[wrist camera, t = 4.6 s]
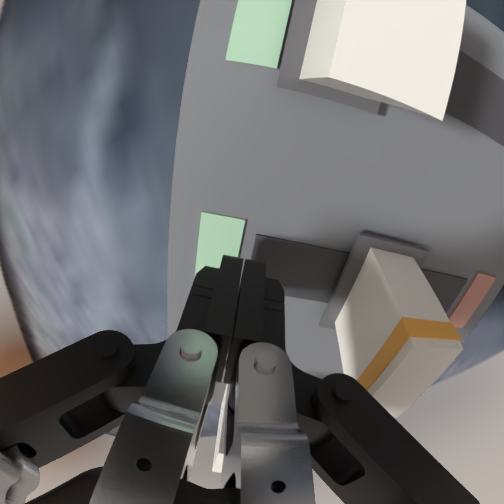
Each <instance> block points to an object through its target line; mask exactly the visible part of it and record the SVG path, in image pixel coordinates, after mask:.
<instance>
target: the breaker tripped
mask: <svg viewBox="0 0 504 504" xmlns="http://www.w3.org/2000/svg"><path fill="white" fill-rule="evenodd" d="M427 254H428V250H427V249H426V248H422V247H418V246H415V245H411V244H407V243H403V242H399V241H395V240H391V239H387V238H383V237H379V236H375V235H371V234H367V233H362V232H358V235H357V237H356V240H355V242H354V245H353V247H352V250H351V252H350V254H349V257H348V259H347V262H346V264H345V266H344V269H343V271H342V273H341V276H340V278H339V280H338V282H337V285H336V287H335V289H334V291H333V294H332V296H331V298H330V300H329V302H328V305H327V307H326V309H325V311H324V313H323V315H322V317H321V319H320V322H319V327H321V328H329V329H336V332H337V338H338V343H339V349H340V355H341V361H342V367H343V373H344V374H346V375H349V376H351V377H353V378H354V379H356V380H357V381H358V382H359V383H360V384H361V385H362V386H363V387H364V388H365V389H366V390H367V391H368V392H369V393H370V394H371V395H372V396H373V397H374V398H375V399H376V400H377V401H378V402H379V403H380V404H381V405H382V406H383V407H384V408H385V409H386V410H387V411H388V412H389V413H390V414H391V415H392V416H393V417H394V418H395V417H398V416H399V415H400V414H401V413H402V412H403V411H404V410H406V409H407V408H408V407H409V406H410V405H411V404H412V403H413V402H414V401H415V400H416V399H417V398H418V397H420V396H421V394H422V393H424V392H425V391H426V390H427V389H428V388H429V387H430V386H431V385H432V384H433V382H434V381H435V380H436V379H437V378H438V377H439V376H440V375H441V374H442V373H443V372H444V371H445V370H446V369H447V367H448V366H449V365H450V364H451V363H452V362H453V361H454V360H455V358H456V357H457V356H458V355H459V354H460V353H461V351H462V350H463V347H462V345H461V342H460V340H461V337H460V335H459V333H458V331H457V329H456V327H455V325H454V324H453V323H451V322H450V320H449V319H448V317H447V315H446V313H445V311H444V309H443V307H442V305H441V304H440V302H439V300H438V298H437V296H436V295H435V293H434V291H433V289H432V288H431V286H430V284H429V283H428V281H427V279H426V277H425V276H424V274H423V272H422V271H421V269H420V267H421V265H422V264H423V262H424V260H425V258H426V256H427Z"/></svg>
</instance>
